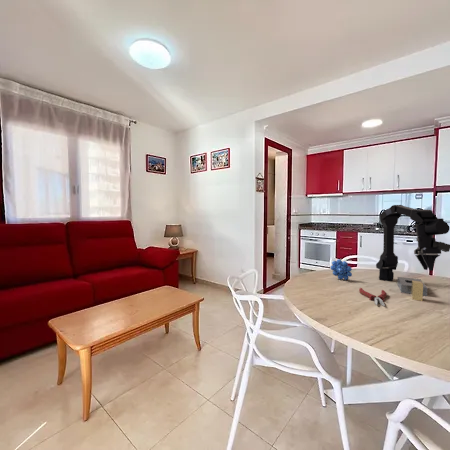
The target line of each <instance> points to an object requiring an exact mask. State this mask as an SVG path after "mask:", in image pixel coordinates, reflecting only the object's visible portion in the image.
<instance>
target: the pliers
mask: <svg viewBox="0 0 450 450" xmlns="http://www.w3.org/2000/svg"><path fill="white" fill-rule="evenodd" d="M358 291H359V293H360V295H361V296H363V297H366V298H368V299H369V301H374V304H375V305H376V306H378V304H379V305H382V306H383V307H386V304H385V303H384V302H385V299H387V296H388V294H387V292H386V291H385V290H384V289H381V292H380V293H381V294H379V295H374V294H372V293H371V292H368V291H366V290H364V289H363V287H359V289H358Z"/></svg>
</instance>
